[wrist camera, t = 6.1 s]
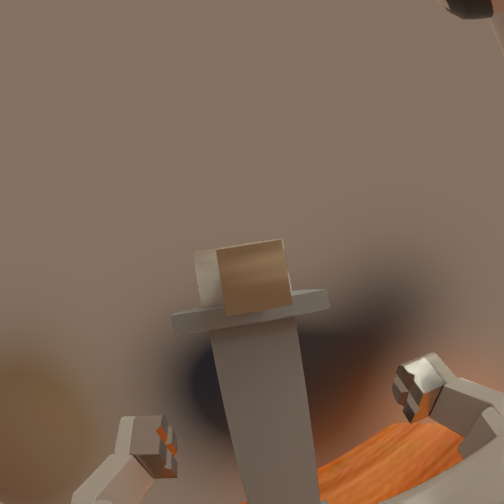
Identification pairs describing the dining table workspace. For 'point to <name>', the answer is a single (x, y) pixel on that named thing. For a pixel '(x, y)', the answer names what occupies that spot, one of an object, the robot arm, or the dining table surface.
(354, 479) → the dining table surface
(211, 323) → the pedestal shelf
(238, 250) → the mallet
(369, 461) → the dining table surface
